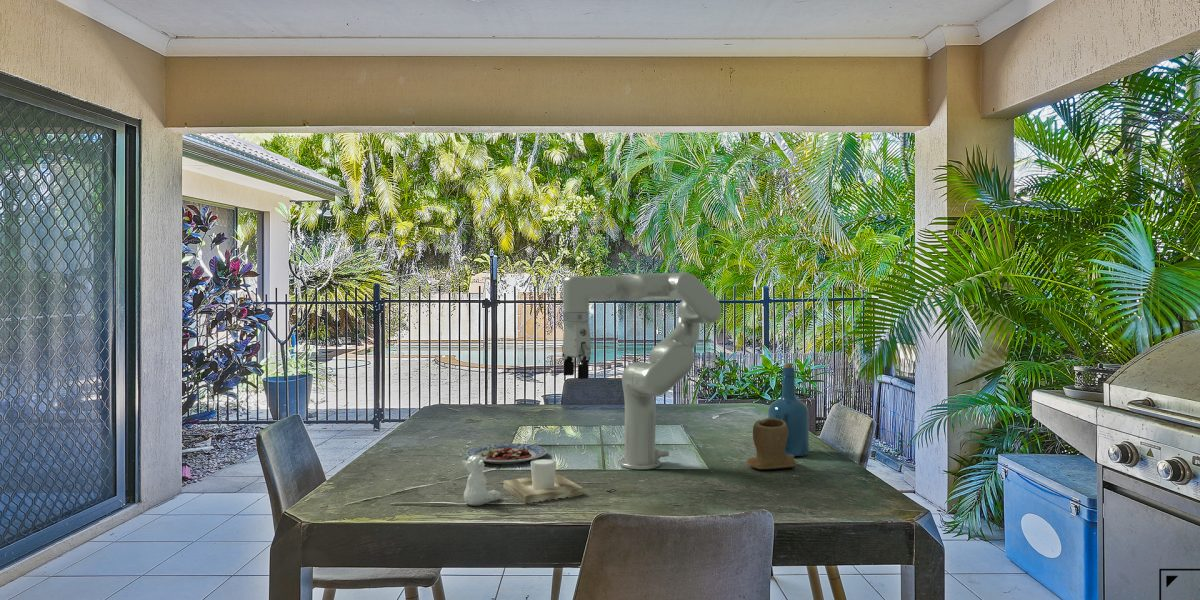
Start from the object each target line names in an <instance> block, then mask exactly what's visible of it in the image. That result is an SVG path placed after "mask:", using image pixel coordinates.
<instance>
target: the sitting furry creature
mask: <svg viewBox="0 0 1200 600" xmlns="http://www.w3.org/2000/svg"><path fill="white" fill-rule="evenodd" d="M461 462H462V467H465V469H466V470H467V471H468V472H469V473H470V474H469V476H468V477H467V481H466V487H465V488H464V489H465V490H464V491H463V500H464V502H465V503H466V505H469V506H482V505H485V504H488V503H492V502H495V501H498V500H500V499H501V496H502V494H501V492H500V491H497V490H495V489H492V490H488V491H487V489H486V486H487V482H488V479H487V477H486V476H485V475H486V474H484V472H483V471H484V469H485V465H486V464H485V462H484V461H483V460H482V458H480V456H479V455H472V456H470V457H468V458H467V460H463V459H462V460H461Z"/></svg>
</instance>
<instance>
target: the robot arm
mask: <svg viewBox="0 0 1200 600" xmlns="http://www.w3.org/2000/svg"><path fill="white" fill-rule="evenodd" d="M562 285H563V287H562V290H563V291H562V293H563V295H562V296H563V297H562V302H563V303H562V304H563V305H562V306H563V307H562V310H563V311H562V312H563V313H562V324H564V325H563V337H562V346H561V350H562V355H561V356H562V357H563V358H562V362H563V366H562V367H563V376H574V375H575V362H574V359H575V358H576V359H577V361H578V364H577V379H579V380H583V379H584V380H586V379H589V376H590V375H589V372H590V371H589V370H590V369H589V366H590V359H591V355H592V345H591V344H592V341H591V332H590V331H591V329H590V325H589V323H590V319H589V318H590V316H589V314H590V313H589V312H590V303H589V302H607V301H625V302H626V301H627V302H649V301H650V302H651V301H673V300H675V301H677V300H681V301H680V302H679V304H678V308H677V322H676V325H675V327H674V329H673V330H672V331H671V332H670V333H669V334H668V335H666V336H665V337H664V338H662V340H660V341H659V342H658V343H657V344H656V345H655V346H653V348H652V349H651V350H650V352H649V354H648V362H645V361H644V362H642V361H634V362H631V363H629V364H628V365H627V366H626V367H625V368H624V369H623V371H622V375H621V385H622V390H623V399H624V400H623V401H624V457H623V458H621V459H619V463H618V464H619V465H620V466H621V467H623V468H625V469H629V470H630V469H631V470H653V469H657V468H659V467H661V461H660V459H661V458H665V457H669V456H670V452H669V450H667V449H665V450H661V449H656V413H657V411H656V401H655V397H657V398H658V397H661V396H663V395H665V394H666V393H668V392H669V391H670V390H672V388H674V387H675V386H676V385H677V384H678V383H679V382H680V381H681V380H683V379H684V377H686V375H688V374H689V373H690V371H691V370H692V368H693V366H694V363H695V353H694V350H693V349H694V348H695V346H697V344H698V342H699V338H700V324H703V325H704V324H705V325H706V324H707V325H708V324H713V323H716V322H717V321H718V320H719V319H720V318H721V314H722V305H721V304H720V301H719V300H718V299H717V297H716V296H715V295H714V294H713V293H712V292H711V291H710V290H709V289H708V288H707V287H706V286H705V285H704V284H703V283H702V281H700V280H699V279H698V278H697V277H696V276H694V274H692V273H690V272H685V271H684V272H664V273H663V272H662V273H661V272H660V273H658V272H657V273H656V272H655V273H654V272H653V273H649V272H648V273H631V274H625V275H624V274H623V275H613V276H610V275H609V276H606V275H595V276H587V277H586V276H582V275H581V276H579V275H578V276H577V275H574V276H573V275H571V276H570V275H569V276H565V277H564V278H563V282H562Z"/></svg>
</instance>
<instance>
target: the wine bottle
mask: <svg viewBox="0 0 1200 600" xmlns="http://www.w3.org/2000/svg"><path fill="white" fill-rule="evenodd" d="M781 377H782V382H781V385H782V386H781V396H779V397H778V398H777V399H776V400H774V401H773V402H771V404H769V407H768V417H767V418H777V419H781V420H783V421H785V422H786V424H787V427H788V438H787V442H786V447H785V455H787V454H791V455H793V458H795V457H794V456H802V457H805V456H808V455H809V452H810V451H809V448H810V443H809V442H810V441H809V440H810V439H809V437H810V436H809V435H810V433H809V432H810V429H809V428H810V425H809V424H810V422H809V421H810V420H809V418H810V413H809V412H810V411H809V409H808V407H807V404H806V403H804V402H802V401H801V400H799V399H798V398H797V397H796V387H795V386H796V383H795V381H796V380H795V378H796V373H795V367H794V366H793V363H792V362H786V363H784V366H783V367H782V373H781ZM807 454H808V455H807ZM804 455H805V456H804Z"/></svg>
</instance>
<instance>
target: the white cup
mask: <svg viewBox="0 0 1200 600" xmlns="http://www.w3.org/2000/svg"><path fill="white" fill-rule="evenodd" d="M556 467H557V461H556V460H554V459H549V458H540V459H539V458H537V459H532V460H530V471H531V473H530V474H531V477H532V485H533V489H534V490H540V489H548V488H554V481H555V474H556V469H557V468H556Z"/></svg>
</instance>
